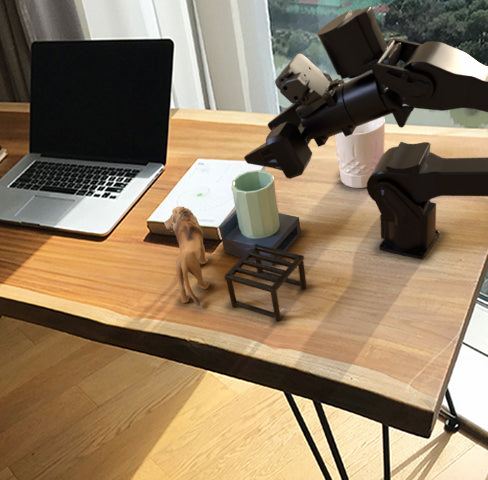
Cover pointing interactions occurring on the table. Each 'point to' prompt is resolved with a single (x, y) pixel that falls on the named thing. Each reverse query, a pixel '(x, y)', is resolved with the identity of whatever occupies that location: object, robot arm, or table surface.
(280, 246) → the shelf
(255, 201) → the tumbler
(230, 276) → the rack
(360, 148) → the white cup
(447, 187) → the robot arm
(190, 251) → the lion figurine
